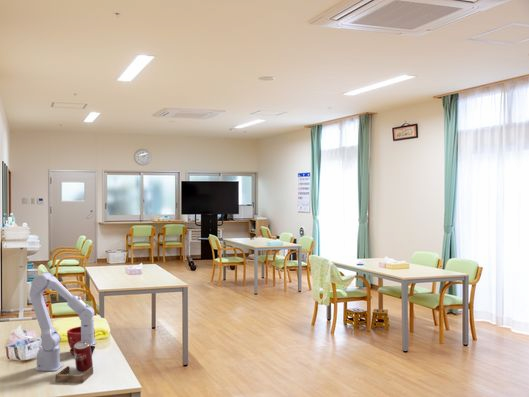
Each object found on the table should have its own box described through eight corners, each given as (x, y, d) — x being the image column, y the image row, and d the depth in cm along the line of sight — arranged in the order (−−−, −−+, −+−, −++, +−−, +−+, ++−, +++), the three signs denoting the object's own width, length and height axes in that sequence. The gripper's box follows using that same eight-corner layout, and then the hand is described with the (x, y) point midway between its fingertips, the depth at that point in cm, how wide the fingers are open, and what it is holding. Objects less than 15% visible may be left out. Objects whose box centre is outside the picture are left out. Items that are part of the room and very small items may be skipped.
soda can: (84, 374, 247) (81, 350, 244) (72, 369, 251) (69, 346, 247) (96, 365, 253) (93, 343, 250) (85, 361, 257) (82, 338, 253)
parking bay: (55, 382, 237) (55, 375, 236) (67, 372, 248) (67, 366, 248) (82, 382, 236) (82, 375, 235) (93, 373, 247) (93, 367, 247)
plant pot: (84, 347, 287) (83, 324, 287) (100, 351, 279) (100, 328, 279) (62, 353, 276) (61, 329, 276) (78, 358, 269) (77, 333, 268)
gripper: (89, 338, 248) (90, 367, 248) (101, 329, 262) (102, 357, 263) (74, 337, 248) (75, 367, 249) (87, 329, 263) (88, 357, 263)
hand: (88, 362), depth 256 cm, fingers closed, pressing on soda can
